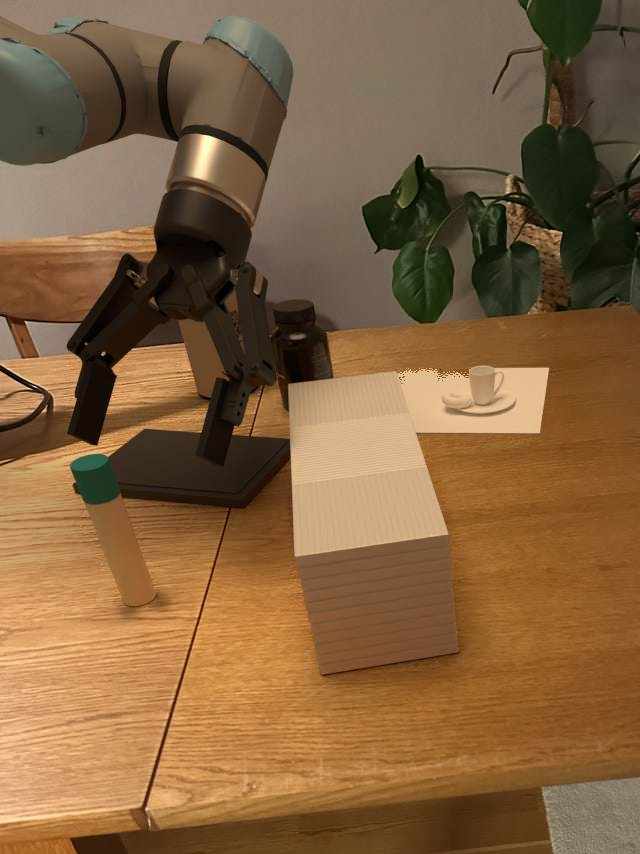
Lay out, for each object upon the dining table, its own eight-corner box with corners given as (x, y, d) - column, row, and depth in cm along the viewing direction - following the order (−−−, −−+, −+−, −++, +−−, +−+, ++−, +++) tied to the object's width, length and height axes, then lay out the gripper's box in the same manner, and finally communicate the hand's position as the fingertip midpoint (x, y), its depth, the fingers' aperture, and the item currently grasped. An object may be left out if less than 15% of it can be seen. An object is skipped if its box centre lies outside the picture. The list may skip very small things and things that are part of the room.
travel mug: (187, 389, 111) (146, 243, 100) (241, 372, 115) (208, 229, 103) (215, 405, 106) (175, 254, 95) (270, 387, 110) (238, 239, 98)
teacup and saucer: (439, 416, 100) (436, 383, 97) (449, 390, 106) (446, 358, 103) (512, 417, 99) (511, 383, 96) (518, 390, 105) (517, 358, 102)
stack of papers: (458, 652, 65) (448, 533, 58) (321, 675, 64) (294, 556, 57) (407, 469, 90) (396, 370, 83) (307, 482, 88) (287, 383, 82)
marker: (116, 604, 72) (61, 468, 64) (134, 586, 75) (84, 452, 67) (145, 608, 72) (94, 471, 64) (163, 589, 74) (116, 454, 66)
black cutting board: (75, 492, 89) (71, 483, 89) (146, 436, 100) (144, 427, 99) (244, 508, 85) (241, 498, 84) (300, 447, 95) (299, 438, 95)
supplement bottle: (272, 409, 104) (250, 311, 96) (303, 389, 109) (285, 293, 101) (317, 417, 101) (299, 316, 94) (348, 396, 106) (333, 298, 99)
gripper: (356, 244, 70) (292, 485, 69) (127, 231, 79) (66, 446, 78) (311, 187, 63) (239, 454, 62) (65, 180, 72) (-3, 415, 71)
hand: (143, 450), depth 70 cm, fingers open, 13 cm apart
